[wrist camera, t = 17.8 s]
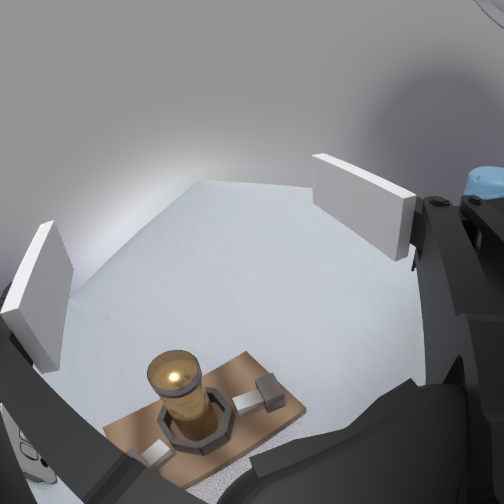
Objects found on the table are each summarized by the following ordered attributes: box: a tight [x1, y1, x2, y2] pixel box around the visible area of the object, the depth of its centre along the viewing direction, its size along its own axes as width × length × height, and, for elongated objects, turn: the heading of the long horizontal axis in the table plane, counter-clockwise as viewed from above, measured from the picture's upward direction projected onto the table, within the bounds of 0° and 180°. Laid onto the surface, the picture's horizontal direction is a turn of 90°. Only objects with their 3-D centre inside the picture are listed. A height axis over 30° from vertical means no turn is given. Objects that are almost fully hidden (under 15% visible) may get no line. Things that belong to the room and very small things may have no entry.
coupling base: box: [103, 351, 306, 490], centre depth 35 cm, size 24×13×5 cm, turn 127°
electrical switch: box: [0, 405, 56, 484], centre depth 27 cm, size 9×5×9 cm, turn 30°
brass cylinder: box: [147, 350, 218, 441], centre depth 32 cm, size 5×5×12 cm
